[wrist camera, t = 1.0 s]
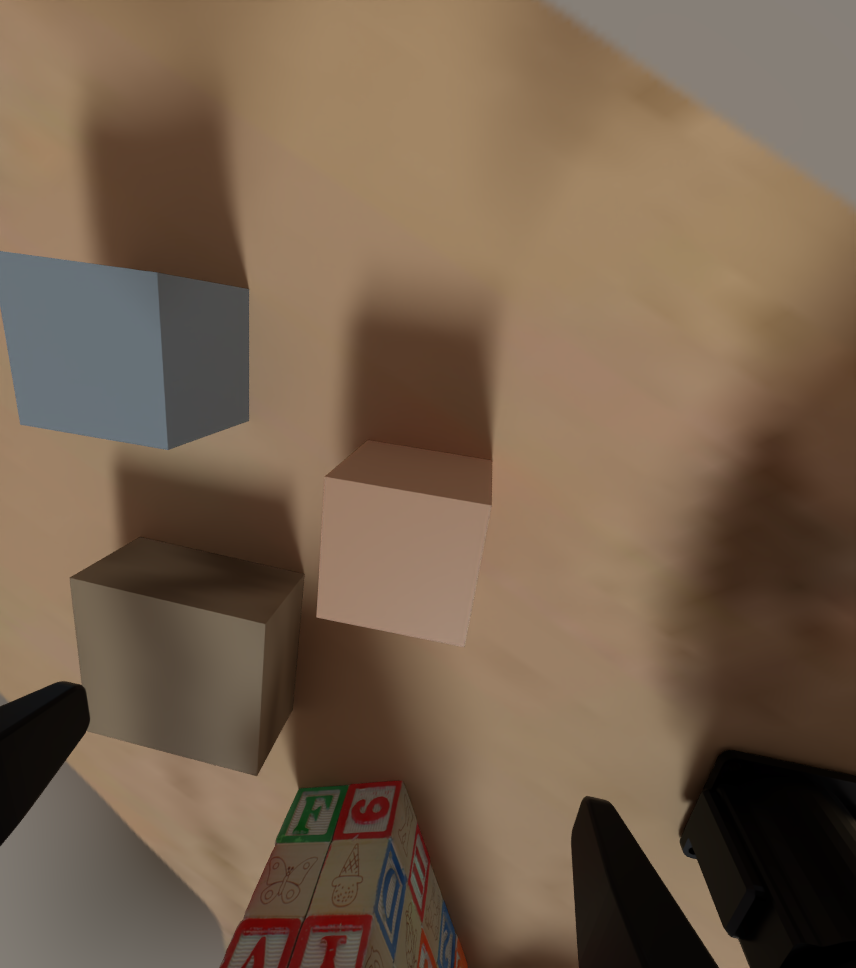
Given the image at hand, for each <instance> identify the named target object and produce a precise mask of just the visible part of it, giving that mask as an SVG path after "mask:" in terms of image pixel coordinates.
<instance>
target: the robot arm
mask: <svg viewBox="0 0 856 968" xmlns="http://www.w3.org/2000/svg"><path fill="white" fill-rule="evenodd" d="M89 724H90V712H89V706H88V700H87V693H86V689H85V688H84V687H83V686H82V685H80V684H75V683H71V682H65V681H61V682H57V683H54V684H52V685H49V686H47V687H45V688H42V689H40V690H38V691H35V692H33V693H31V694H28V695H26V696H24V697H21V698H19V699H17V700H14V701H12V702H9V703H7V704H5V705H2V706H0V846H1V845H2V843H3V842H4V841H5V840H6V839H7V838H8V836H9V835H10V834H11V833H12V831H13V830H14V829H15V828H16V827H17V825H18V824H19V823H20V822H21V820H22V819H23V818H24V816H25V815H26V814H27V812H28V811H29V810H30V808H31V807H32V806H33V804H34V803H35V802H36V800H37V799H38V798H39V796H40V795H41V793H42V792H43V791H44V789H45V788H46V787H47V785H48V784H49V782H50V781H51V780H52V778H53V777H54V776H55V774H56V773H57V771H58V770H59V769H60V767H61V766H62V765H63V763H64V762H65V761H66V759H67V758H68V756H69V755H70V754H71V752H72V751H73V750H74V748H75V747H76V745H77V744H78V743H79V741H80V740H81V739H82V737H83V736H84V734H85V733H86V731H87V729H88V727H89ZM680 845H681V848H682V850H683V853H684V854H685V855H686V856H687V857H690V858H693V859H697V860H698V863H699V866H700V868H701V871H702V873H703V876H704V878H705V881H706V884H707V886H708V889H709V891H710V894H711V897H712V899H713V902H714V904H715V907H716V909H717V912H718V915H719V917H720V920H721V922H722V925H723V927H724V929H725V930H726V932H727V933H728V935H729V936H731V937H733V938H737V939H738V940H739V942H740V944H741V947H742V949H743V952H744V954H745V957H746V959H747V962H748V964H749V967H750V968H856V776H854V775H849V774H845V773H840V772H835V771H830V770H825V769H821V768H816V767H811V766H806V765H801V764H797V763H792V762H787V761H782V760H777V759H772V758H768V757H763V756H758V755H753V754H748V753H744V752H739V751H734V750H728V751H724V752H722V753H721V754H720V755H719V756H718V759H717V761H716V763H715V765H714V767H713V769H712V772H711V774H710V776H709V778H708V780H707V782H706V785H705V787H704V789H703V791H702V793H701V795H700V797H699V799H698V801H697V803H696V806H695V808H694V810H693V812H692V814H691V816H690V819H689V821H688V823H687V825H686V828H685V830H684V832H683V834H682V837H681V839H680ZM571 850H572V867H573V883H574V900H575V916H576V932H577V948H578V961H579V968H719V967H718V965H717V964H716V962H715V961H714V959H713V958H712V956H711V955H710V953H709V952H708V950H707V948H706V947H705V945H704V944H703V942H702V941H701V939H700V938H699V936H698V935H697V933H696V932H695V930H694V929H693V927H692V926H691V924H690V922H689V921H688V919H687V918H686V916H685V915H684V913H683V912H682V910H681V909H680V907H679V906H678V904H677V903H676V901H675V899H674V898H673V896H672V895H671V893H670V892H669V890H668V889H667V887H666V886H665V884H664V883H663V881H662V880H661V878H660V877H659V875H658V873H657V872H656V870H655V869H654V867H653V866H652V864H651V863H650V861H649V860H648V858H647V857H646V855H645V854H644V852H643V850H642V849H641V847H640V846H639V844H638V843H637V841H636V840H635V838H634V837H633V835H632V834H631V832H630V831H629V829H628V828H627V826H626V824H625V823H624V821H623V820H622V818H621V817H620V815H619V814H618V812H617V811H616V809H615V808H614V806H613V805H612V804H611V803H610V802H609V801H607V800H603V799H599V798H594V797H590V796H586V797H584V798H583V800H582V802H581V805H580V808H579V811H578V814H577V817H576V820H575V823H574V826H573V829H572V836H571Z"/></svg>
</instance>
